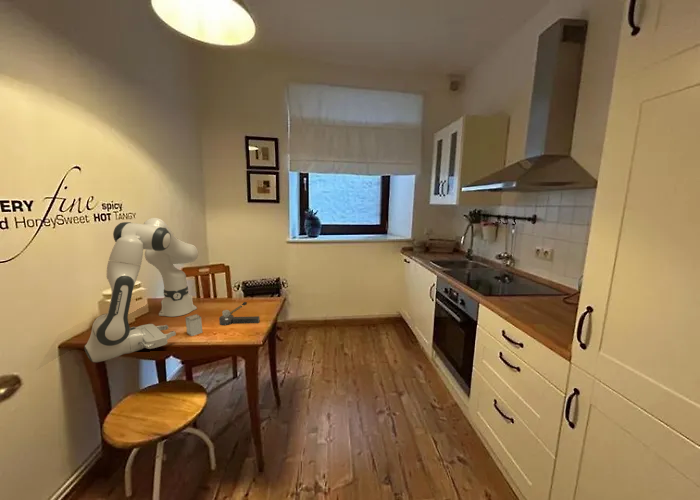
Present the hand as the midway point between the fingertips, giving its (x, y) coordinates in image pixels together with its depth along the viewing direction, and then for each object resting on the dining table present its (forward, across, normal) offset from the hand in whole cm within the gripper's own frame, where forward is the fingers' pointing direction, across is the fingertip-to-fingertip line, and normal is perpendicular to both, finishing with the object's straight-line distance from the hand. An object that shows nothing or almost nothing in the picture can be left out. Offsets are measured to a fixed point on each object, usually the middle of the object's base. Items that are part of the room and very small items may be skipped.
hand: (171, 329), depth 141 cm
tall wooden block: (+10, 0, +5) cm, 11 cm away
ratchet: (+30, -5, +5) cm, 31 cm away
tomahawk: (+39, +12, +6) cm, 41 cm away
